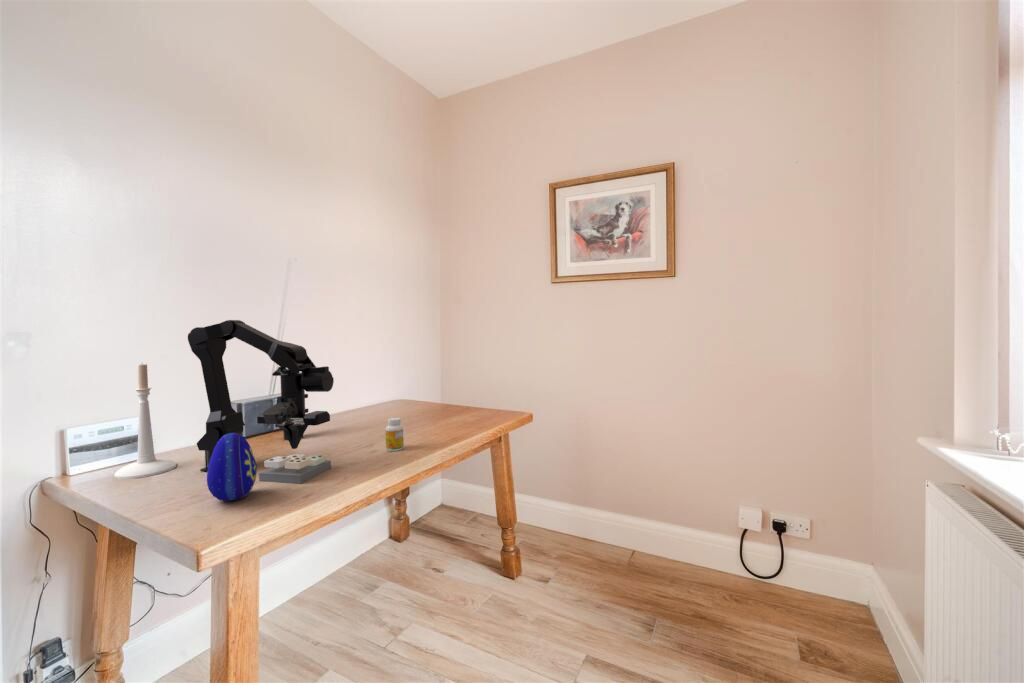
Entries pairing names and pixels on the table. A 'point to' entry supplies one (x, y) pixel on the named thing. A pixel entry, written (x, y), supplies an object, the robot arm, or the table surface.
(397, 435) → the supplement bottle
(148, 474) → the candlestick
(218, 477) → the ornament
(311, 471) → the keypad board
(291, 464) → the key four dot
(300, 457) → the key one dot
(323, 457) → the key three dot
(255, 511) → the table surface
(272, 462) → the key two dot
